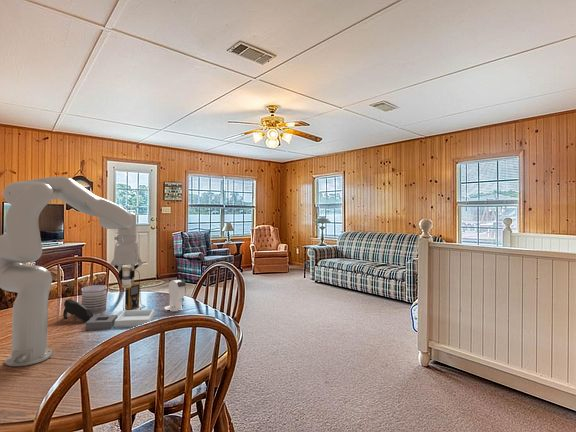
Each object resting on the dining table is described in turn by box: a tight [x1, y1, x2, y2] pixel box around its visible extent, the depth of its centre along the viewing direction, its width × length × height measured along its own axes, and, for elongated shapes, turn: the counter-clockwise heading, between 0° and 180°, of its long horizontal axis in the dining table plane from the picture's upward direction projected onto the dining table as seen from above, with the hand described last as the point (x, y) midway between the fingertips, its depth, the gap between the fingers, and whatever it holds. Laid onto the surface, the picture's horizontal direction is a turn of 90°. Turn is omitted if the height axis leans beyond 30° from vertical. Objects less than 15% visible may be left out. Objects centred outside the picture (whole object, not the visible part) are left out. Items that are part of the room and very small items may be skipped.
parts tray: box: [113, 309, 155, 329], centre depth 156 cm, size 16×14×3 cm
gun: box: [62, 298, 94, 323], centre depth 156 cm, size 3×16×10 cm, turn 79°
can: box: [81, 284, 108, 314], centre depth 171 cm, size 11×11×12 cm
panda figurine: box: [164, 277, 187, 312], centre depth 179 cm, size 12×11×15 cm
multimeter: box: [122, 269, 145, 312], centre depth 175 cm, size 15×10×20 cm
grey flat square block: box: [85, 314, 119, 331], centre depth 149 cm, size 10×10×3 cm
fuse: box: [121, 266, 132, 289], centre depth 154 cm, size 4×4×9 cm
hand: (126, 278), depth 154 cm, fingers closed on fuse, 3 cm apart
